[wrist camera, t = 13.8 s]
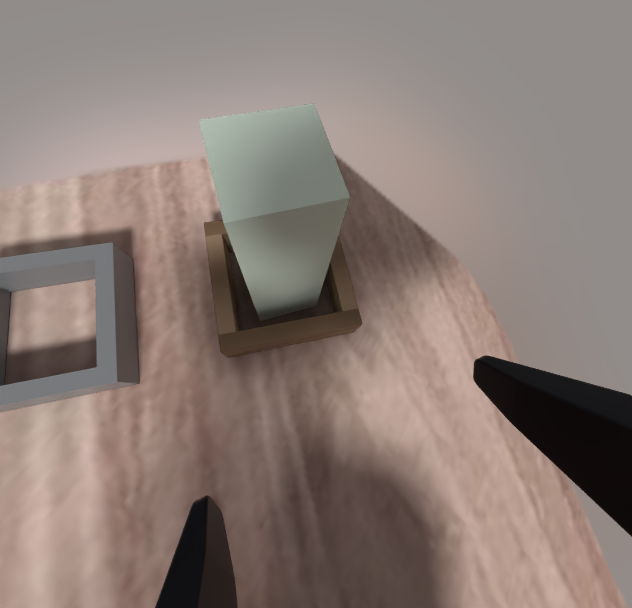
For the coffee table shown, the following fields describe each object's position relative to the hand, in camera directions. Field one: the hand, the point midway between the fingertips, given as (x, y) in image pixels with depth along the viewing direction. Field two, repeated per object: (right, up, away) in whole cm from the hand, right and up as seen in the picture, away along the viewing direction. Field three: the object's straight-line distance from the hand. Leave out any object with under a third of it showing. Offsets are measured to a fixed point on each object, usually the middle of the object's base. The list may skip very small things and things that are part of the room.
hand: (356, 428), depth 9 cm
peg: (-4, +5, +12) cm, 13 cm away
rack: (-4, +5, +12) cm, 14 cm away
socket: (-17, +2, +10) cm, 20 cm away
